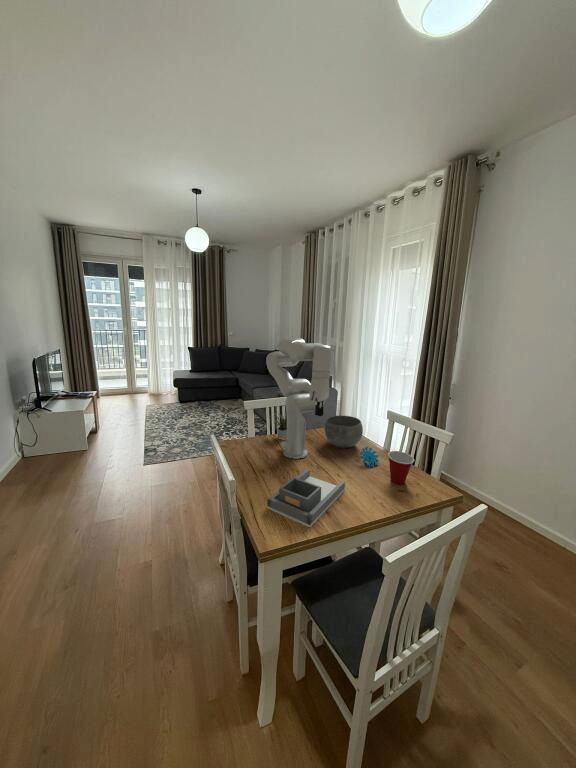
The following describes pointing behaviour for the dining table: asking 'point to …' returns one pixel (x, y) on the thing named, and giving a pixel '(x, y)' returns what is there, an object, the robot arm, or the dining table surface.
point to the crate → (300, 494)
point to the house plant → (281, 426)
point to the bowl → (343, 431)
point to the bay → (308, 519)
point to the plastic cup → (399, 466)
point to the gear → (369, 456)
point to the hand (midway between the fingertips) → (319, 415)
